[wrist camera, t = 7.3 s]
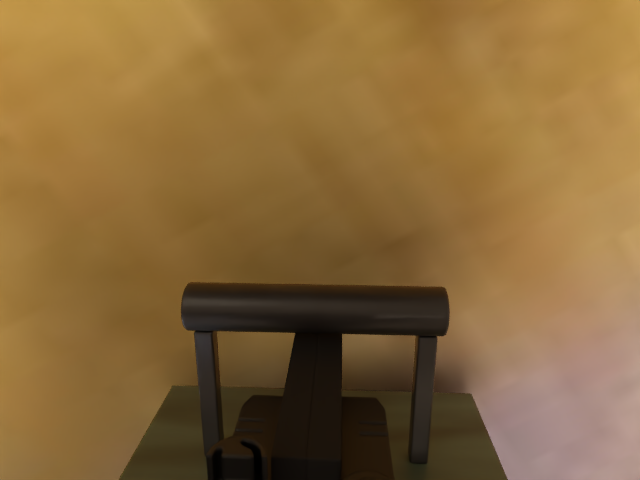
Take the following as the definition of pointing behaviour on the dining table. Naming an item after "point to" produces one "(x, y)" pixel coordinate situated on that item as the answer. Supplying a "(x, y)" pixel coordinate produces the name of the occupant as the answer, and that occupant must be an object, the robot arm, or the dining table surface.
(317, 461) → the robot arm
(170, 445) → the drawer
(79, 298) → the dining table surface
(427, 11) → the dining table surface
